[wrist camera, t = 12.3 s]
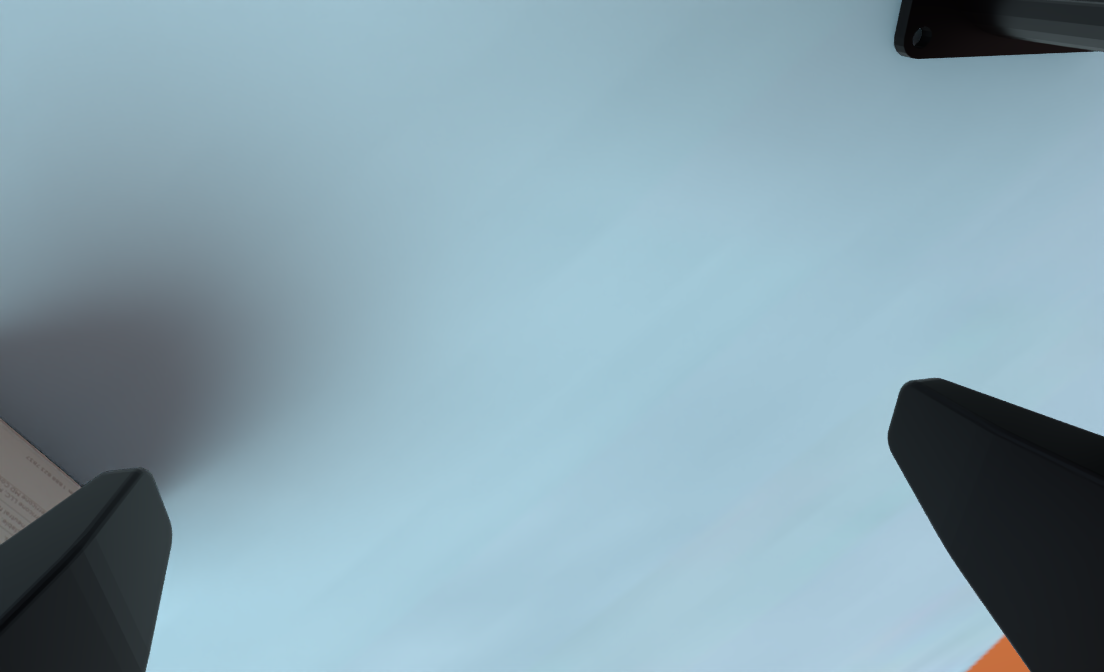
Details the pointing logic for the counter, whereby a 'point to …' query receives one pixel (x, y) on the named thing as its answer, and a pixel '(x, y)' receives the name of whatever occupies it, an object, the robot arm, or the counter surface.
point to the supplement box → (27, 483)
